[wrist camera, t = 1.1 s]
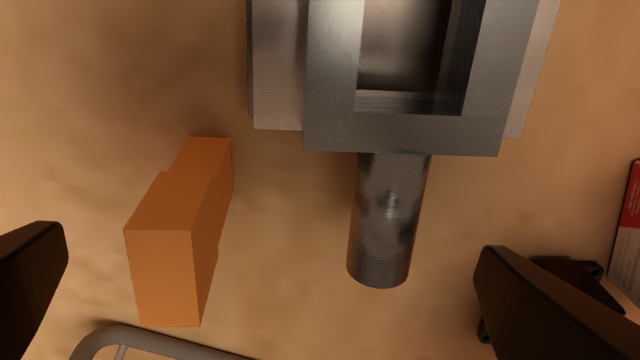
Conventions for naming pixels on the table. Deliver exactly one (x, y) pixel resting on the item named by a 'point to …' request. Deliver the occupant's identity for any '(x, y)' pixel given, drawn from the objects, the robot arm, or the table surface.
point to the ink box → (628, 243)
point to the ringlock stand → (394, 97)
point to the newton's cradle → (144, 345)
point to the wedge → (180, 234)
